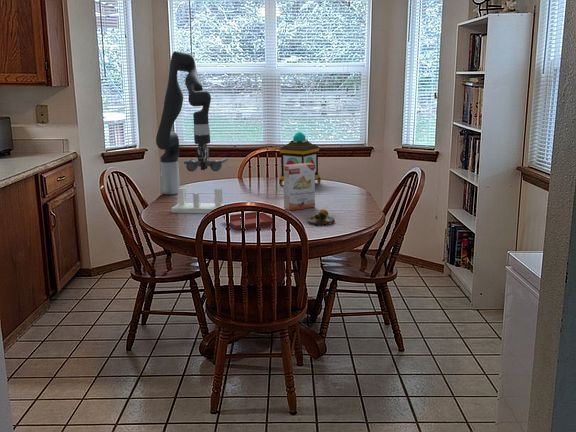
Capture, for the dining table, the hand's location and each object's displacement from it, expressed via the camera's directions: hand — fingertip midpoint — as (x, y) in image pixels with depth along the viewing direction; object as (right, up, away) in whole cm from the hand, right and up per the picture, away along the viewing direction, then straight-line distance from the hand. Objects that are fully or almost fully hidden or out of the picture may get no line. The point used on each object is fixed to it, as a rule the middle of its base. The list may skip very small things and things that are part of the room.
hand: (204, 169), depth 286 cm
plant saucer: (+24, -27, -35) cm, 50 cm away
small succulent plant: (+55, -26, -34) cm, 69 cm away
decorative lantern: (+48, -5, +52) cm, 71 cm away
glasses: (+1, 0, +4) cm, 4 cm away
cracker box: (+46, -19, -7) cm, 50 cm away
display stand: (-2, -20, -8) cm, 21 cm away
